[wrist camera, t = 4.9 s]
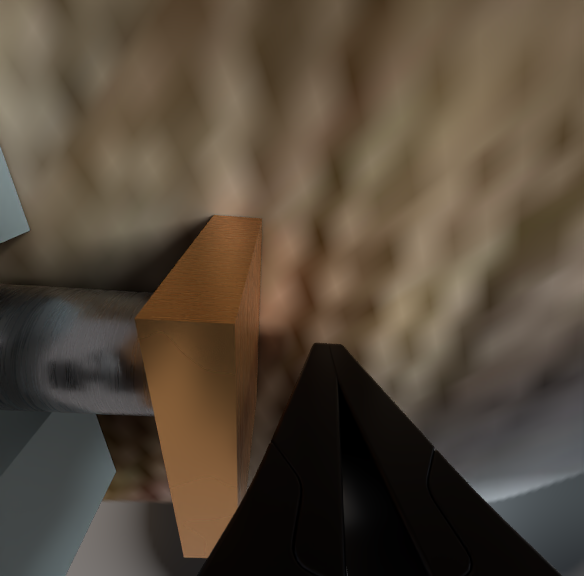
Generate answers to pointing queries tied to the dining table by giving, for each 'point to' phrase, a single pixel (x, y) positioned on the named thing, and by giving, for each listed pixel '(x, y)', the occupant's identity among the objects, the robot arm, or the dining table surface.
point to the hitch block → (45, 464)
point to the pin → (155, 366)
